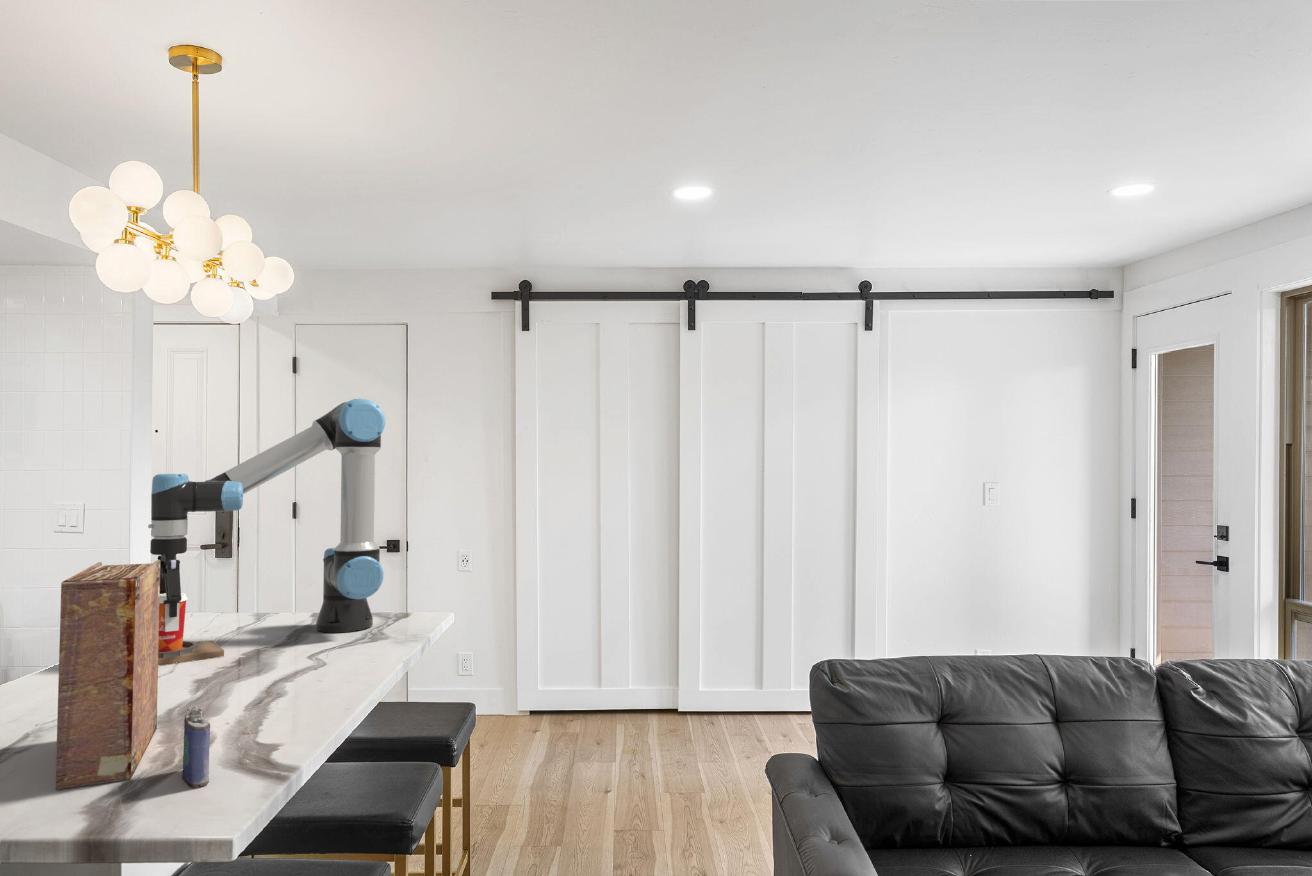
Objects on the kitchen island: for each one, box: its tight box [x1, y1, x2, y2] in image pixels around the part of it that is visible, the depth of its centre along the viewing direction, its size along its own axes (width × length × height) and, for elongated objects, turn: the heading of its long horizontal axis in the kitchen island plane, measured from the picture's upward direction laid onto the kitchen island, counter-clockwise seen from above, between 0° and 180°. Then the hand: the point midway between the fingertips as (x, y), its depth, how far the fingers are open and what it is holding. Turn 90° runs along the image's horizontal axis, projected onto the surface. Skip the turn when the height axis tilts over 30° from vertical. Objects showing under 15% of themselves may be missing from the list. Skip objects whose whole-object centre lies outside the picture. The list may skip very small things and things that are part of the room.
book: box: [55, 559, 160, 791], centre depth 126 cm, size 25×9×30 cm, turn 25°
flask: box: [181, 705, 211, 789], centre depth 117 cm, size 9×3×11 cm, turn 39°
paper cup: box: [158, 592, 189, 652], centre depth 187 cm, size 8×8×14 cm
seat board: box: [158, 639, 225, 666], centre depth 188 cm, size 22×14×3 cm, turn 131°
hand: (167, 626), depth 188 cm, fingers open, 12 cm apart
